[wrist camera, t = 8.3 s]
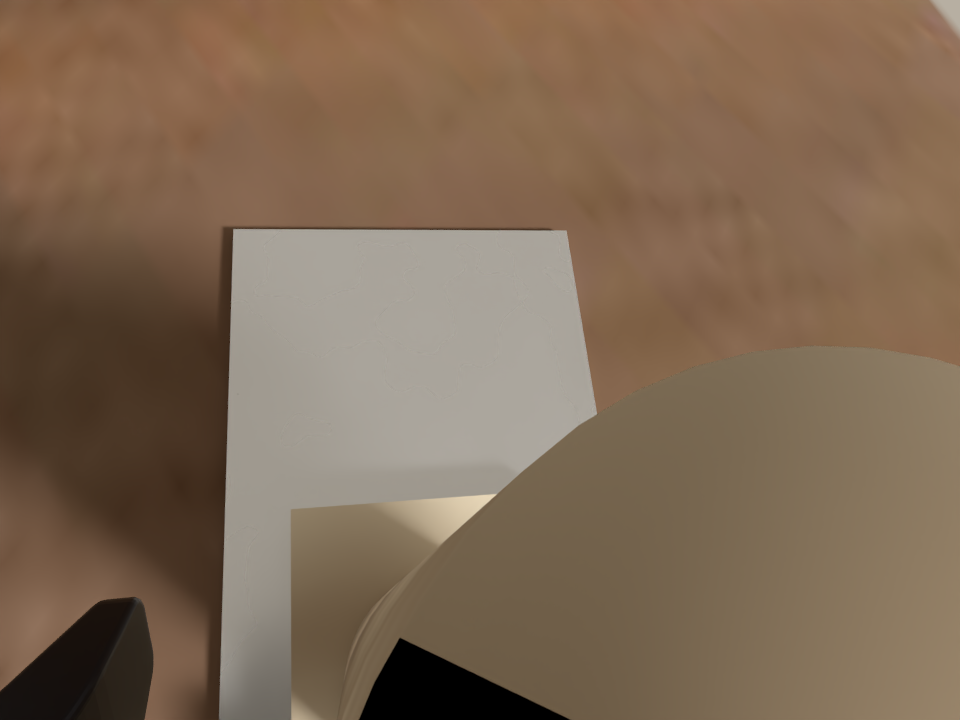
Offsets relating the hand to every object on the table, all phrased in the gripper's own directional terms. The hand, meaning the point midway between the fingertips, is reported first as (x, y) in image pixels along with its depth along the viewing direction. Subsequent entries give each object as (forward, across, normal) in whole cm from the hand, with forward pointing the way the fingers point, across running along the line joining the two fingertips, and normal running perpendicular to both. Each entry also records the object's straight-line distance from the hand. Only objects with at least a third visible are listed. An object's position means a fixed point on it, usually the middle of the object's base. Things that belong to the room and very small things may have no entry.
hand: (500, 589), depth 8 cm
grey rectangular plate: (+9, 0, +2) cm, 9 cm away
